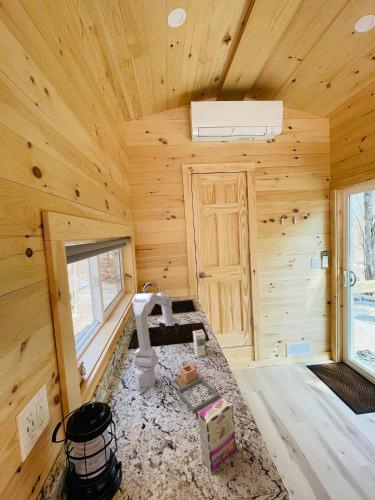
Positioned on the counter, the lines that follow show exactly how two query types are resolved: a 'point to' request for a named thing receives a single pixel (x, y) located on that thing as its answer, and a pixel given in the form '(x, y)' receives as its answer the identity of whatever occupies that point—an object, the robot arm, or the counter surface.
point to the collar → (188, 373)
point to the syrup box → (199, 343)
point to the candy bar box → (217, 433)
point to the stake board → (182, 381)
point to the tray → (202, 402)
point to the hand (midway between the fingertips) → (170, 333)
